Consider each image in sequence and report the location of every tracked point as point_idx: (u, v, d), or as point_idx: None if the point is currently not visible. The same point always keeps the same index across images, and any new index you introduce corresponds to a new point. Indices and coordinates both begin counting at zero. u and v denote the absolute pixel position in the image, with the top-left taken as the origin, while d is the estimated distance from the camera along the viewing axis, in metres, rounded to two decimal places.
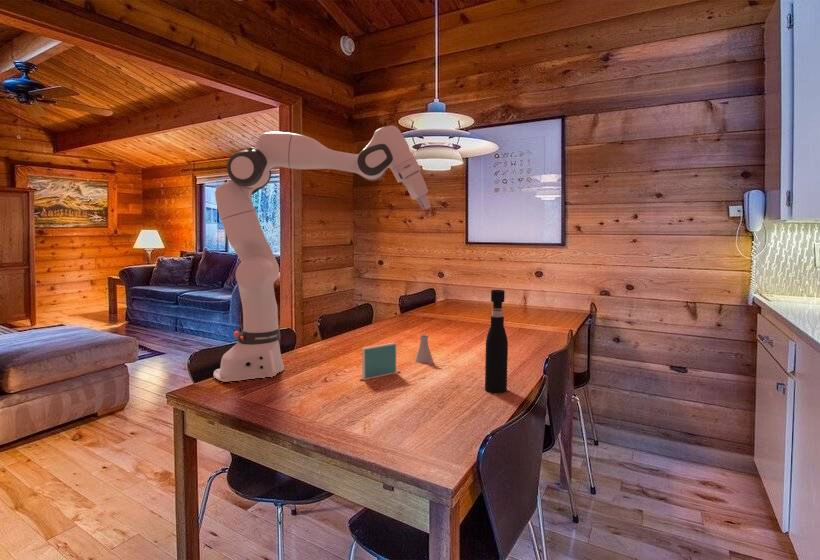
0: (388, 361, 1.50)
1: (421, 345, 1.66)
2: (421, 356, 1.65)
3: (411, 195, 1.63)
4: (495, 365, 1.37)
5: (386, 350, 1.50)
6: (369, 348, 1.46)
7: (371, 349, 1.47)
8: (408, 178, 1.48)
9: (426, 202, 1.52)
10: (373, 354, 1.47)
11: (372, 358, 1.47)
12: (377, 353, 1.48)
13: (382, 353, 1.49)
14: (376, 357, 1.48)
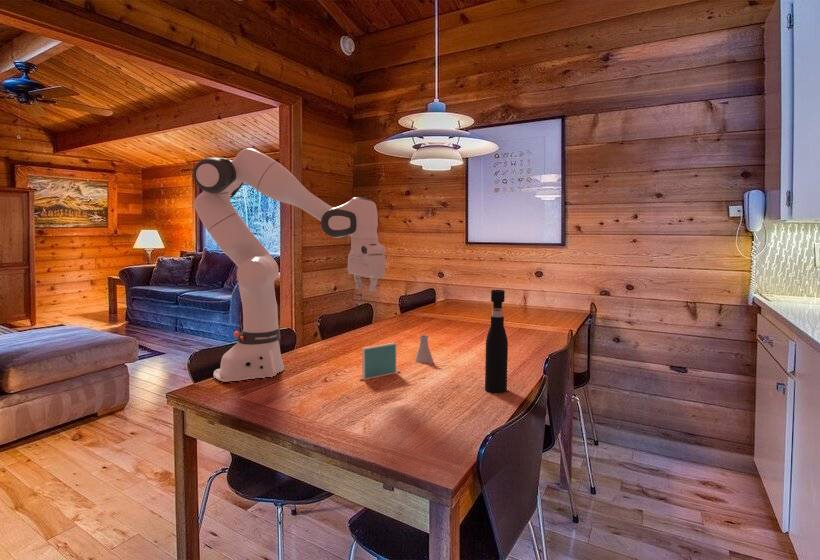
0: (388, 361, 1.50)
1: (421, 345, 1.66)
2: (421, 356, 1.65)
3: (352, 269, 1.59)
4: (495, 365, 1.37)
5: (386, 350, 1.50)
6: (369, 348, 1.46)
7: (371, 349, 1.47)
8: (373, 256, 1.46)
9: (374, 284, 1.50)
10: (373, 354, 1.47)
11: (372, 358, 1.47)
12: (377, 353, 1.48)
13: (382, 353, 1.49)
14: (376, 357, 1.48)
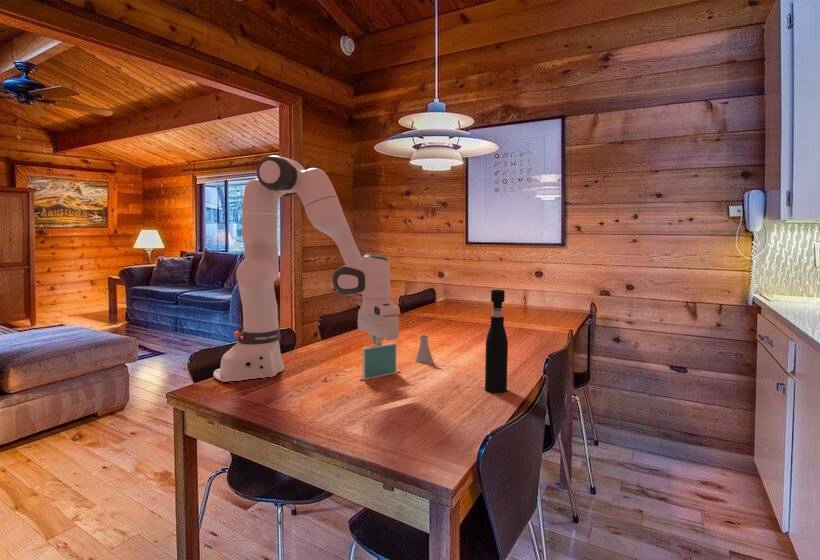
0: (388, 361, 1.50)
1: (421, 345, 1.66)
2: (421, 356, 1.65)
3: (363, 326, 1.54)
4: (495, 365, 1.37)
5: (386, 350, 1.50)
6: (369, 348, 1.46)
7: (371, 349, 1.47)
8: (386, 318, 1.41)
9: (379, 342, 1.49)
10: (373, 354, 1.47)
11: (372, 358, 1.47)
12: (377, 353, 1.48)
13: (382, 353, 1.49)
14: (376, 357, 1.48)
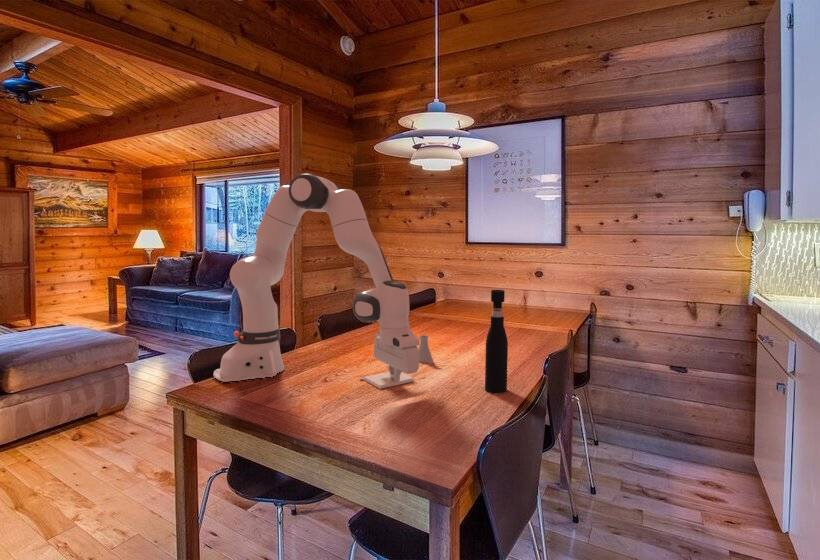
0: None
1: (421, 345, 1.66)
2: (421, 356, 1.65)
3: (379, 356, 1.46)
4: (495, 365, 1.37)
5: None
6: (385, 387, 1.39)
7: (387, 386, 1.40)
8: (406, 350, 1.33)
9: (398, 374, 1.41)
10: None
11: None
12: None
13: None
14: None
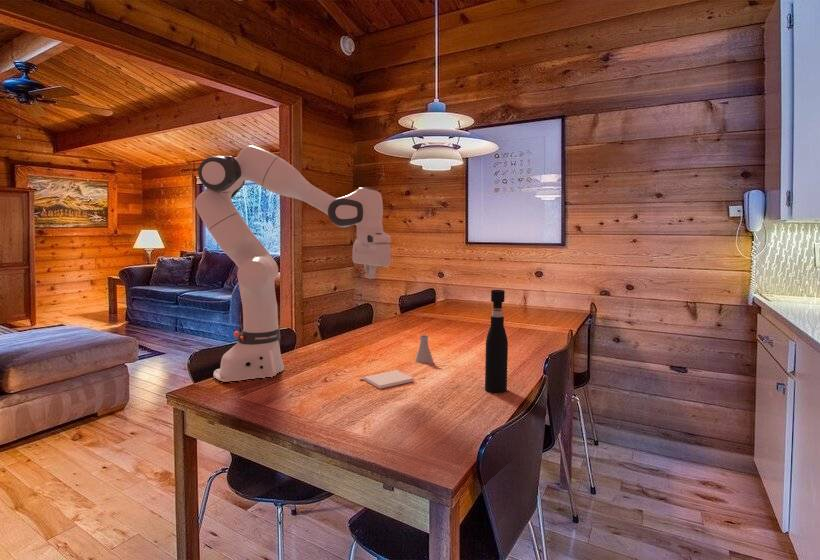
0: None
1: (421, 345, 1.66)
2: (421, 356, 1.65)
3: (357, 258, 1.62)
4: (495, 365, 1.37)
5: None
6: (385, 387, 1.39)
7: (387, 386, 1.40)
8: (378, 245, 1.49)
9: (373, 272, 1.57)
10: None
11: None
12: None
13: None
14: None
